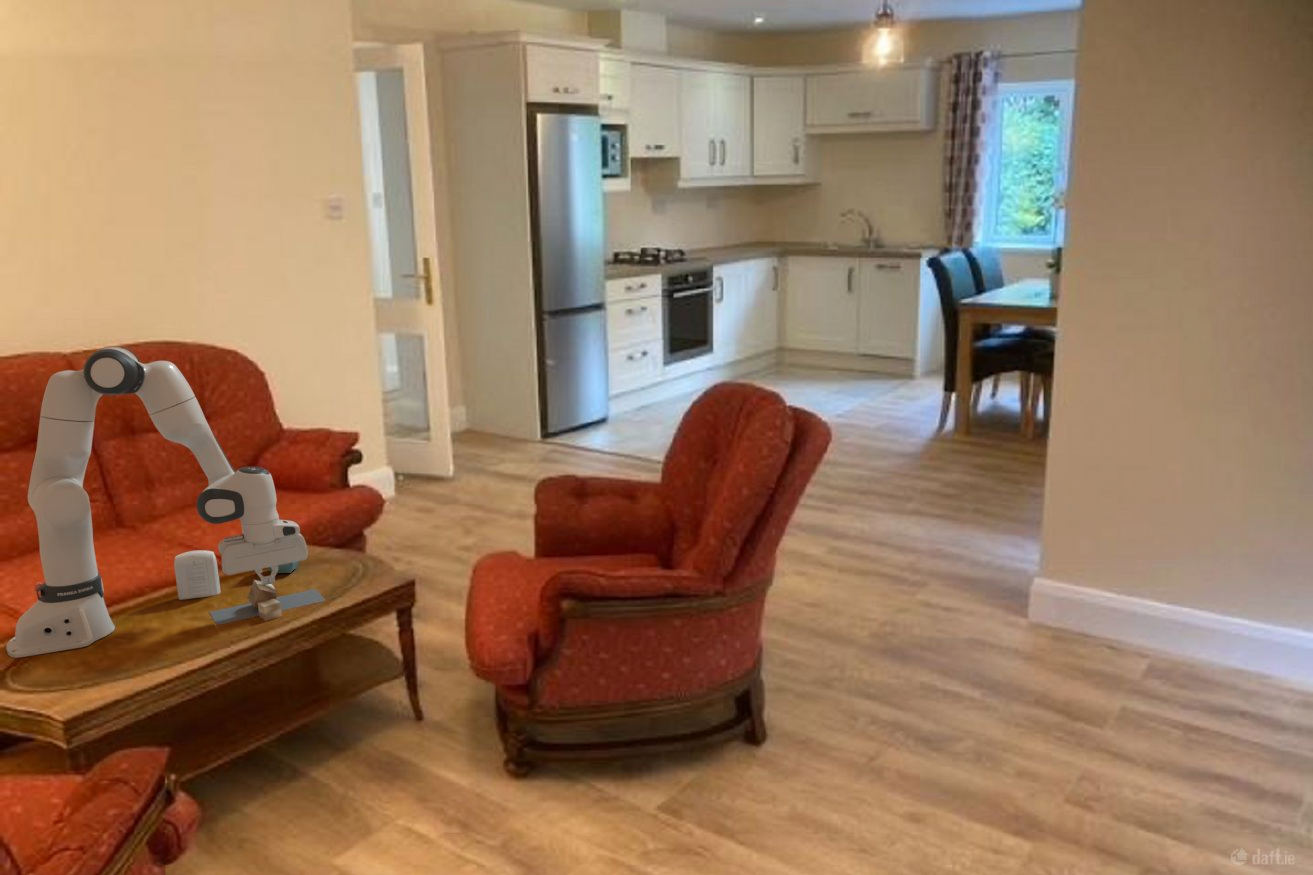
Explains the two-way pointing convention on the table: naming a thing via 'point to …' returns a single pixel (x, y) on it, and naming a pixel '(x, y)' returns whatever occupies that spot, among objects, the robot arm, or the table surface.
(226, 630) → the table surface
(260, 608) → the maple cube
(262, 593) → the walnut block
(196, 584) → the white upright rounded block
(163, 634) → the table surface
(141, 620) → the table surface
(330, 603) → the table surface
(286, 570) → the flower pot
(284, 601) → the mat
